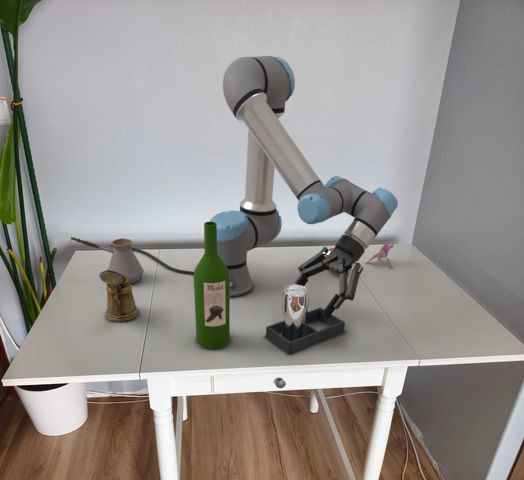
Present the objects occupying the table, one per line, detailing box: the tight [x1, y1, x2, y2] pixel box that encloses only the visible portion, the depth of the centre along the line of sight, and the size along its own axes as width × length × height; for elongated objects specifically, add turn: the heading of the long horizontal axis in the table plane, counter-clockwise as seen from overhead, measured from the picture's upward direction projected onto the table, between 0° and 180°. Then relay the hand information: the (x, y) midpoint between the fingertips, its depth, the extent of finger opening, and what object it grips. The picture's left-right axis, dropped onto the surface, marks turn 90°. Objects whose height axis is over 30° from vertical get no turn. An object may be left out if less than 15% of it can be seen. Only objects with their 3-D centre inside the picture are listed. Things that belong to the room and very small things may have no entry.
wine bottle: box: [193, 221, 231, 350], centre depth 126 cm, size 9×9×32 cm
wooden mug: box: [98, 269, 139, 323], centre depth 138 cm, size 9×14×18 cm, turn 2°
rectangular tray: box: [265, 307, 346, 355], centre depth 138 cm, size 10×20×4 cm, turn 127°
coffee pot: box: [69, 236, 144, 284], centre depth 159 cm, size 21×12×15 cm, turn 100°
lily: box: [366, 240, 399, 268], centre depth 180 cm, size 12×12×10 cm
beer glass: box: [281, 284, 310, 342], centre depth 132 cm, size 7×7×15 cm
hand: (307, 306), depth 134 cm, fingers open, 13 cm apart
